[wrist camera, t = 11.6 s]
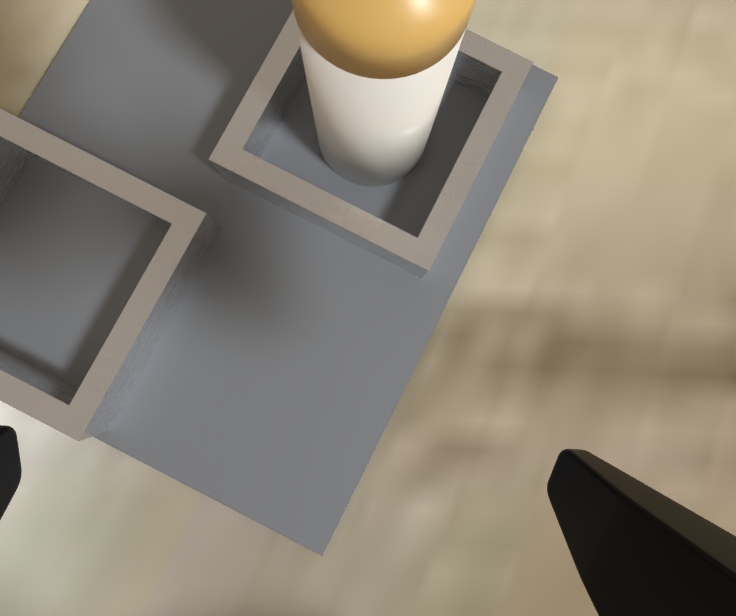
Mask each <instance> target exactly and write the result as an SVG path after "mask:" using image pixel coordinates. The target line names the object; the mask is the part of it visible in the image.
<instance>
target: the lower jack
mask: <svg viewBox="0 0 736 616" xmlns="http://www.w3.org/2000/svg"><path fill="white" fill-rule="evenodd" d="M532 64H533V62H532V61H530V60H528V59H526V58H524V57H522V56H520V55H518V54H516V53H514V52H512V51H510V50H508V49H505V48H503V47H501V46H499V45H497V44H495V43H493V42H491V41H489V40H487V39H485V38H483V37H481V36H479V35H477V34H475V33H473V32H471V31H469V30H467V29H466V30H465V33H464V36H463V38H462V41H461V44H460V47H459V50H458V53H457V56H456V59H455V62H454V65H453V68H452V70H451V73H450V76H449V80H451V81H453V82H455V83H457V84H459V85H461V86H463V87H465V88H467V89H469V90H471V91H473V92H475V93H477V94H479V95H481V96H483V97H485V98H487V101H486V103H485V105H484V107H483V109H482V111H481V113H480V115H479V117H478V119H477V121H476V123H475V125H474V127H473V129H472V131H471V133H470V135H469V137H468V139H467V141H466V143H465V145H464V147H463V148H462V150H461V152H460V154H459V156H458V158H457V160H456V162H455V164H454V166H453V168H452V170H451V172H450V174H449V176H448V178H447V180H446V182H445V184H444V186H443V188H442V190H441V192H440V194H439V196H438V198H437V200H436V202H435V204H434V206H433V208H432V210H431V211H430V213H429V215H428V217H427V219H426V221H425V223H424V225H423V227H422V229H421V231H420V233H419V235H418V237H415V236H413V235H411V234H409V233H407V232H405V231H403V230H401V229H399V228H397V227H395V226H393V225H391V224H389V223H387V222H385V221H383V220H381V219H379V218H377V217H375V216H373V215H371V214H369V213H367V212H365V211H363V210H361V209H359V208H358V207H356V206H354V205H352V204H350V203H348V202H346V201H344V200H342V199H340V198H338V197H336V196H334V195H332V194H330V193H328V192H326V191H324V190H322V189H320V188H318V187H316V186H314V185H312V184H310V183H308V182H306V181H304V180H302V179H300V178H298V177H296V176H294V175H292V174H290V173H288V172H286V171H284V170H282V169H280V168H278V167H276V166H274V165H272V164H270V163H268V162H266V161H264V160H262V159H261V158H260V157H261V155H262V154H263V152H264V150H265V148H266V146H267V145H268V143H269V141H270V139H271V137H272V136H273V134H274V132H275V130H276V128H277V127H278V125H279V123H280V121H281V119H282V118H283V116H284V114H285V112H286V110H287V108H288V107H289V105H290V103H291V101H292V99H293V98H294V96H295V94H296V92H297V90H298V89H299V87H300V85H301V83H302V81H303V80H304V78H305V76H306V74H305V69H304V63H303V58H302V53H301V48H300V43H299V37H298V32H297V27H296V22H295V16H294V11H292V13H291V15H290V16H289V18H288V20H287V22H286V23H285V25H284V27H283V29H282V30H281V32H280V34H279V36H278V38H277V39H276V41H275V43H274V45H273V46H272V48H271V50H270V52H269V53H268V55H267V57H266V59H265V60H264V62H263V64H262V66H261V68H260V69H259V71H258V73H257V75H256V76H255V78H254V80H253V82H252V83H251V85H250V87H249V89H248V91H247V92H246V94H245V96H244V98H243V99H242V101H241V103H240V105H239V106H238V108H237V110H236V112H235V113H234V115H233V117H232V119H231V121H230V122H229V124H228V126H227V128H226V129H225V131H224V133H223V135H222V136H221V138H220V140H219V142H218V143H217V145H216V147H215V149H214V151H213V152H212V154H211V156H210V158H209V161H210V162H211V163H212V164H213V166H214V167H215V168H216V169H217V171H218V172H219V173H220V174H221V176H222V177H223V178H224V179H226V180H228V181H230V182H232V183H234V184H236V185H238V186H240V187H242V188H244V189H246V190H248V191H250V192H252V193H254V194H256V195H258V196H260V197H262V198H264V199H266V200H268V201H270V202H272V203H273V204H275V205H277V206H279V207H281V208H283V209H285V210H287V211H289V212H291V213H293V214H295V215H297V216H299V217H301V218H303V219H305V220H307V221H309V222H311V223H313V224H315V225H317V226H319V227H321V228H323V229H325V230H327V231H329V232H331V233H333V234H335V235H337V236H339V237H341V238H343V239H345V240H347V241H348V242H350V243H352V244H354V245H356V246H358V247H360V248H362V249H364V250H366V251H368V252H370V253H372V254H374V255H376V256H378V257H380V258H382V259H384V260H386V261H388V262H390V263H392V264H394V265H396V266H398V267H400V268H402V269H404V270H406V271H408V272H410V273H412V274H414V275H416V276H418V277H420V278H421V279H422V278H423V276H424V275H425V274H426V273H427V272H428V271H429V270H430V268H431V266H432V264H433V262H434V260H435V258H436V256H437V254H438V252H439V250H440V248H441V246H442V244H443V242H444V240H445V238H446V236H447V234H448V232H449V230H450V228H451V226H452V224H453V222H454V220H455V218H456V216H457V214H458V212H459V210H460V208H461V206H462V204H463V202H464V200H465V198H466V196H467V194H468V192H469V190H470V188H471V186H472V184H473V182H474V180H475V178H476V176H477V174H478V172H479V170H480V168H481V166H482V164H483V162H484V160H485V158H486V156H487V154H488V152H489V150H490V148H491V146H492V144H493V142H494V140H495V138H496V136H497V134H498V132H499V130H500V128H501V126H502V124H503V122H504V120H505V118H506V116H507V114H508V112H509V110H510V108H511V106H512V104H513V102H514V100H515V98H516V96H517V94H518V92H519V90H520V88H521V86H522V84H523V82H524V80H525V78H526V76H527V74H528V72H529V70H530V68H531V66H532Z"/></svg>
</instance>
